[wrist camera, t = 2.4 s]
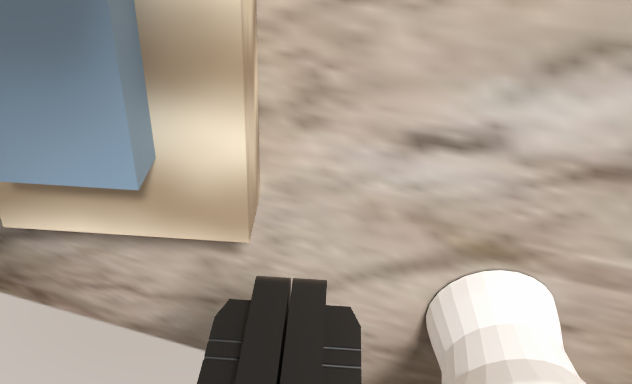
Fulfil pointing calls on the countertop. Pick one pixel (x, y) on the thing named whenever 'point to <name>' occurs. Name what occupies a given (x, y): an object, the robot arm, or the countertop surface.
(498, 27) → the countertop surface
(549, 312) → the white vase
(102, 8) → the tile
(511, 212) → the countertop surface
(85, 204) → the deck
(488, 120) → the countertop surface
